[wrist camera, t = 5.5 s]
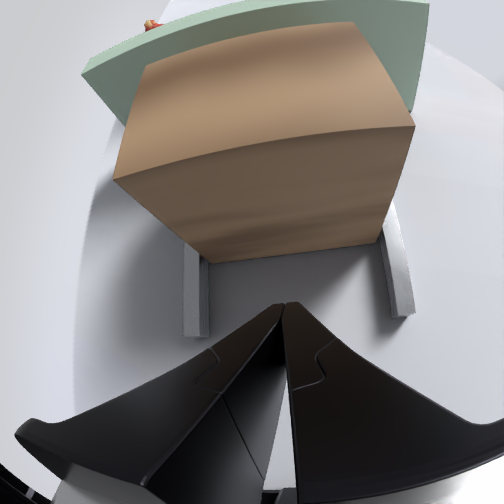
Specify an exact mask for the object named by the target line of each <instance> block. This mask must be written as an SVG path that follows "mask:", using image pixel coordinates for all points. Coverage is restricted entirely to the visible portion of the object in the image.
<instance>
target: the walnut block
mask: <svg viewBox="0 0 504 504" xmlns="http://www.w3.org/2000/svg"><path fill="white" fill-rule="evenodd" d="M414 130H415V123H414V121H413V119H412V117H411V115H410V113H409V111H408V109H407V107H406V105H405V104H404V102H403V100H402V98H401V96H400V94H399V92H398V91H397V89H396V87H395V85H394V83H393V82H392V80H391V78H390V77H389V75H388V73H387V72H386V70H385V68H384V67H383V65H382V63H381V62H380V60H379V59H378V57H377V55H376V54H375V52H374V51H373V49H372V48H371V46H370V45H369V43H368V42H367V40H366V39H365V37H364V36H363V35H362V33H361V32H360V30H359V29H358V28H357V26H356V25H355V24H354V22H335V23H321V24H311V25H302V26H294V27H287V28H281V29H275V30H269V31H263V32H258V33H253V34H248V35H244V36H239V37H235V38H231V39H227V40H223V41H219V42H215V43H211V44H208V45H204V46H201V47H198V48H194V49H191V50H188V51H185V52H182V53H179V54H176V55H173V56H170V57H167V58H165V59H162V60H159V61H157V62H154V63H151V64H149V65H146V66H145V69H144V72H143V74H142V77H141V80H140V83H139V86H138V89H137V92H136V95H135V98H134V101H133V104H132V107H131V110H130V114H129V117H128V120H127V124H126V127H125V131H124V134H123V138H122V142H121V146H120V150H119V154H118V158H117V162H116V166H115V171H114V175H113V181H115V182H116V183H117V184H118V185H119V186H120V187H121V188H123V189H124V190H125V191H126V192H127V193H128V194H129V195H131V196H132V197H133V198H134V199H135V200H136V201H137V202H139V203H140V204H141V205H142V206H143V207H144V208H146V209H147V210H148V211H149V212H150V213H151V214H153V215H154V216H155V217H156V218H157V219H159V220H160V221H161V222H162V223H163V224H164V225H166V226H167V227H168V228H169V229H170V230H172V231H173V232H174V233H175V234H176V235H178V236H179V237H180V238H181V239H182V240H184V241H185V242H186V243H187V244H188V245H190V246H191V247H192V248H193V249H194V250H196V251H197V252H198V253H199V254H200V255H202V256H203V257H204V258H205V259H207V260H208V261H209V262H210V263H211V264H214V263H222V262H230V261H238V260H246V259H254V258H262V257H270V256H278V255H286V254H294V253H302V252H310V251H317V250H325V249H333V248H341V247H348V246H356V245H364V244H371V243H376V241H377V239H378V236H379V234H380V231H381V228H382V226H383V223H384V221H385V218H386V215H387V213H388V210H389V207H390V205H391V202H392V199H393V196H394V193H395V190H396V188H397V185H398V182H399V179H400V176H401V173H402V170H403V166H404V163H405V160H406V157H407V154H408V150H409V147H410V144H411V140H412V137H413V133H414Z"/></svg>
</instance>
